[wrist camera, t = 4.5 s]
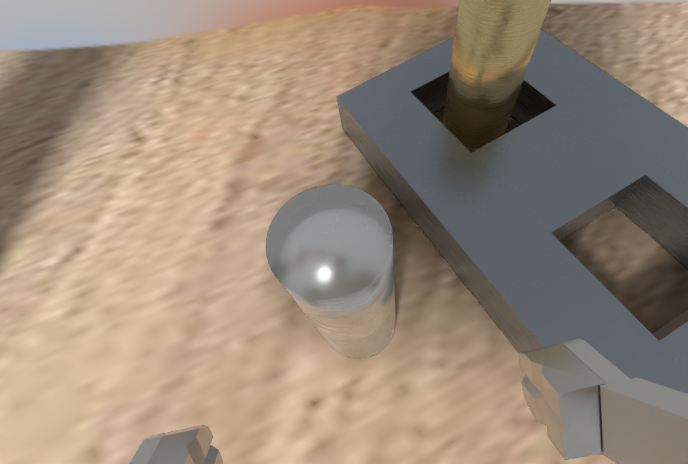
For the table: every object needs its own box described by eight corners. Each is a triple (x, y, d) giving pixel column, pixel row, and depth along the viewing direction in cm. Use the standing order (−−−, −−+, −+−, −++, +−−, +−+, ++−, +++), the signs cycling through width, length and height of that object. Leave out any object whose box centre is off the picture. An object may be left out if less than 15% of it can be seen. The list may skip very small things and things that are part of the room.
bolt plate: (598, 454, 16) (824, 478, 8) (342, 129, 27) (315, -16, 18) (823, 291, 18) (1213, 160, 10) (500, 46, 29) (544, -121, 20)
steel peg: (344, 373, 19) (299, 324, 11) (309, 308, 21) (247, 221, 12) (410, 333, 20) (418, 254, 11) (370, 273, 22) (351, 165, 13)
